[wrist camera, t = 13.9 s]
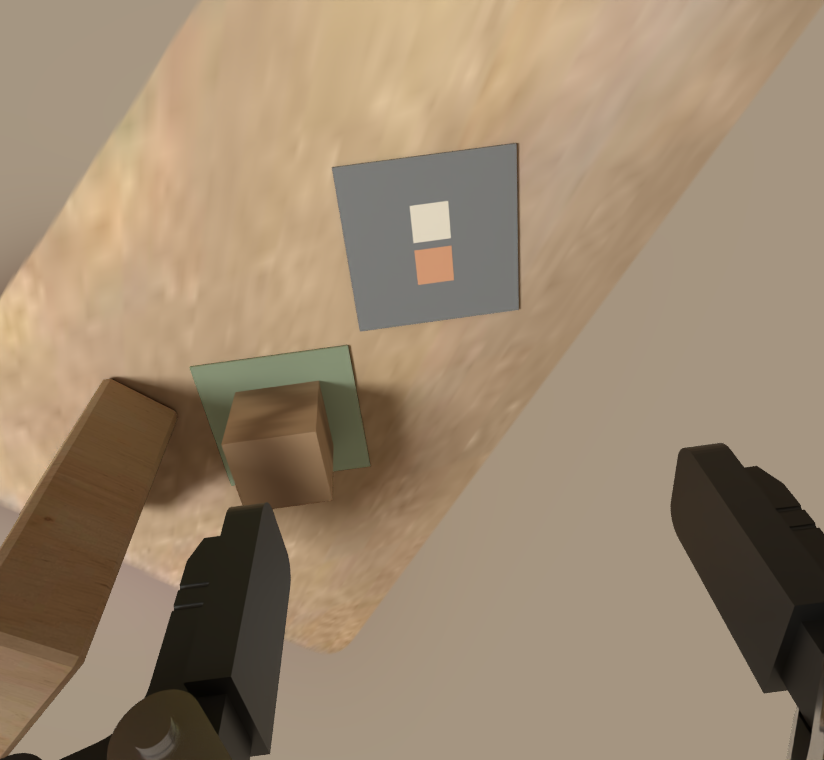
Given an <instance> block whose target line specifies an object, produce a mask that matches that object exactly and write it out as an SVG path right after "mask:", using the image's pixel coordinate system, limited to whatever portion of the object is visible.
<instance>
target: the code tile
mask: <svg viewBox="0 0 824 760" xmlns="http://www.w3.org/2000/svg"><path fill="white" fill-rule="evenodd" d="M332 171H333V177H334V183H335V188H336V194H337V200H338V206H339V212H340V218H341V223H342V229H343V235H344V241H345V247H346V253H347V258H348V264H349V270H350V276H351V282H352V288H353V293H354V299H355V305H356V311H357V317H358V323H359V328H360V331H367V330H374V329H381V328H389V327H396V326H403V325H411V324H418V323H425V322H433V321H440V320H447V319H455V318H462V317H469V316H476V315H484V314H491V313H498V312H506V311H513V310H519V299H518V223H517V146H516V143H513V144H505V145H498V146H490V147H482V148H475V149H467V150H460V151H452V152H444V153H437V154H429V155H421V156H414V157H406V158H399V159H391V160H383V161H376V162H368V163H361V164H353V165H345V166H338V167H332Z"/></svg>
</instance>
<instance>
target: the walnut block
mask: <svg viewBox="0 0 824 760" xmlns="http://www.w3.org/2000/svg"><path fill="white" fill-rule="evenodd" d="M221 445H222V448H223V451H224V454H225V457H226V459H227V462H228V465H229V468H230V471H231V474H232V477H233V479H234V482H235V485H236V488H237V491H238V494H239V497H240V499H241V502H242V505H243V506H244V505H251V504H259V503H266V502H268V503H269V504H270V506H271V507H272V509H276V508H283V507H290V506H297V505H304V504H311V503H318V502H325V501H332V493H333V451H334V445H333V441H332V436H331V432H330V427H329V423H328V418H327V414H326V409H325V405H324V401H323V396H322V392H321V387H320V383H319V381H312V382H305V383H298V384H291V385H283V386H276V387H269V388H262V389H255V390H247V391H240V392H235V395H234V399H233V403H232V407H231V410H230V414H229V418H228V422H227V425H226V429H225V433H224V437H223V440H222V444H221Z"/></svg>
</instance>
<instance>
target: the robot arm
mask: <svg viewBox="0 0 824 760" xmlns="http://www.w3.org/2000/svg"><path fill="white" fill-rule="evenodd" d="M671 517H672V522H673V526H674V529H675V532H676V534H677V536H678V538H679V540H680V542H681V543H682V545H683V547H684V549H685V551H686V553H687V554H688V556H689V558H690V560H691V562H692V563H693V565H694V567H695V569H696V571H697V573H698V574H699V576H700V578H701V580H702V582H703V584H704V585H705V587H706V589H707V591H708V592H709V595H710V596H711V598H712V600H713V602H714V603H715V605H716V607H717V609H718V611H719V613H720V614H721V616H722V618H723V620H724V622H725V623H726V625H727V627H728V629H729V631H730V633H731V635H732V636H733V638H734V640H735V641H736V643H737V645H738V647H739V649H740V651H741V653H742V655H743V656H744V658H745V660H746V662H747V664H748V665H749V667H750V669H751V671H752V673H753V675H754V676H755V678H756V680H757V682H758V684H759V685H760V687H761V689H762V691H763V693H770V692H777V691H786V690H788V691H789V693H790V695H791V696H792V698H793V700H794V701H795V703H796V705H797V708H796V711H795V714H794V719H793V724H792V730H791V736H790V743H789V748H788V753H787V760H824V534H823V532H822V531H821V529H820V528H816V526H815V522H814V521H813V520H812V518H811V517H810V516H809V515H808V513H807V512H806V511H805V510H802V509H801V505H800V504H799V503H798V501H797V500H796V499H795V497H794V496H793V495H792V494H791V493H790V491H789V490H788V489H787V488H786V486H785V485H784V484H783V483H782V482H780V481H779V480H777V479H776V478H774V477H773V476H771V475H770V474H768V473H767V472H765V471H764V470H762V469H761V468H759V467H758V466H753V467H746V468H744V467H743V465H742V464H741V463H740V461H739V460H738V459H737V458H736V456H735V455H734V454H733V452H732V451H731V450H730V449H729V447H728V446H726V445H725V444H723V443H717V444H710V445H703V446H695V447H687V448H682V449H681V450H680V452H679V454H678V460H677V466H676V472H675V479H674V485H673V492H672V499H671ZM290 581H291V575H290V563H289V558H288V554H287V551H286V548H285V545H284V542H283V539H282V536H281V533H280V530H279V527H278V524H277V522H276V519H275V516H274V513H273V510H272V507H271V506H270V504H269V503H268V502H266V503H259V504H251V505H244V506H236V507H230V508H229V509H228V510H227V513H226V516H225V520H224V524H223V528H222V532H221V536H216V537H209V538H204V539H203V540H202V542H201V543H200V544H199V546H198V547H197V548H196V550H195V551H194V552H193V554H192V555H191V556H190V558H189V559H188V560H187V563H186V566H185V569H184V573H183V576H182V579H181V583H180V590H178V593H177V596H176V600H175V603H174V611H172V613H171V616H170V619H169V623H168V626H167V629H166V633H165V636H164V640H163V643H162V647H161V649H160V653H159V656H158V659H157V663H156V666H155V670H154V673H153V677H152V679H151V683H150V686H149V689H148V692H147V694H146V696H145V698H144V699H142V700H141V701H139V702H138V703H137V704H135V705H134V706H133V707H132V708H131V709H130V710H129V711H128V712H127V713H126V714H125V715H124V716H123V718H122V719H121V720H120V721H119V723H118V724H117V726H116V728H115V729H114V731H113V734H111V735H110V736H108V737H107V738H105V739H103V740H101V741H99V742H98V743H96V744H93V745H91V746H89V747H87V748H85V749H82V750H80V751H78V752H75V753H73V754H71V755H69V756H67V757H64V758H62V759H60V760H250V757H251V756H259V755H266V754H270V749H271V741H272V732H273V724H274V715H275V708H276V698H277V691H278V683H279V674H280V666H281V657H282V650H283V641H284V633H285V625H286V617H287V609H288V600H289V592H290ZM0 760H42V759H40V758H39V757H37V756H35V755H33V754H27V753H19V754H13V755H10V756H6V757H4V758H2V759H0Z"/></svg>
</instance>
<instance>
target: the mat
mask: <svg viewBox="0 0 824 760" xmlns="http://www.w3.org/2000/svg"><path fill="white" fill-rule="evenodd" d="M190 370H191V373H192V376H193V379H194V382H195V384H196V387H197V390H198V393H199V396H200V399H201V401H202V404H203V407H204V410H205V413H206V416H207V418H208V421H209V424H210V427H211V430H212V432H213V435H214V438H215V441H216V444H217V447H218V449H219V452H220V455H221V458H222V461H223V464H224V466H225V469H226V472H227V475H228V478H229V480H230V483H231V486H234V485H235V482H234V479H233V477H232V474H231V471H230V468H229V465H228V462H227V459H226V457H225V454H224V451H223V448H222V445H221V444H222V440H223V437H224V433H225V429H226V425H227V422H228V418H229V414H230V410H231V407H232V403H233V399H234V395H235V392H240V391H247V390H255V389H262V388H269V387H276V386H283V385H291V384H298V383H305V382H312V381H319V383H320V387H321V392H322V396H323V401H324V405H325V409H326V414H327V418H328V423H329V427H330V432H331V436H332V441H333V445H334V451H333V471H340V470H347V469H354V468H361V467H368V466H370V461H369V456H368V450H367V445H366V440H365V434H364V429H363V424H362V418H361V413H360V407H359V402H358V397H357V391H356V386H355V381H354V375H353V370H352V365H351V359H350V354H349V348H348V345H344V346H337V347H329V348H322V349H315V350H307V351H300V352H293V353H285V354H278V355H271V356H264V357H256V358H249V359H242V360H234V361H227V362H220V363H213V364H205V365H198V366H191V367H190Z"/></svg>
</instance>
